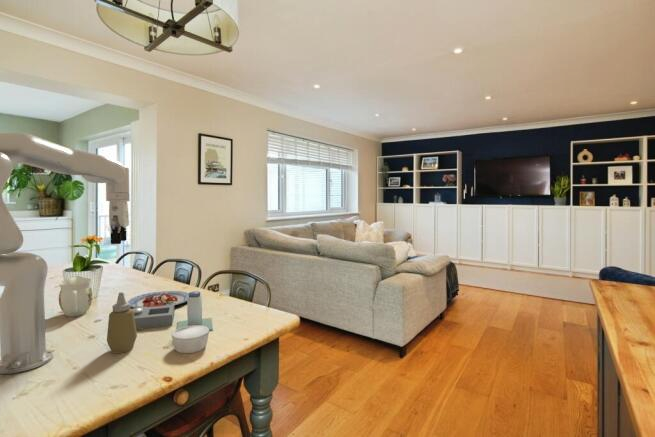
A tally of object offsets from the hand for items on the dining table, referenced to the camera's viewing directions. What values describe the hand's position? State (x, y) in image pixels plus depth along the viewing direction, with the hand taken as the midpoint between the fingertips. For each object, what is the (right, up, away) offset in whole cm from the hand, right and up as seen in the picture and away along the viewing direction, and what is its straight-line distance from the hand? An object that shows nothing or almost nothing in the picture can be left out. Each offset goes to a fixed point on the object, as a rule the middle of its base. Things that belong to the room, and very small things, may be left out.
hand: (118, 242), depth 128 cm
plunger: (+8, -30, -2) cm, 31 cm away
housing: (+12, -31, 0) cm, 33 cm away
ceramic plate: (+4, -30, +24) cm, 38 cm away
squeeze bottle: (+15, -32, -23) cm, 43 cm away
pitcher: (-22, -30, +8) cm, 38 cm away
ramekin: (+36, -32, -21) cm, 53 cm away
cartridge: (+30, -31, -4) cm, 43 cm away
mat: (+31, -31, -4) cm, 44 cm away
